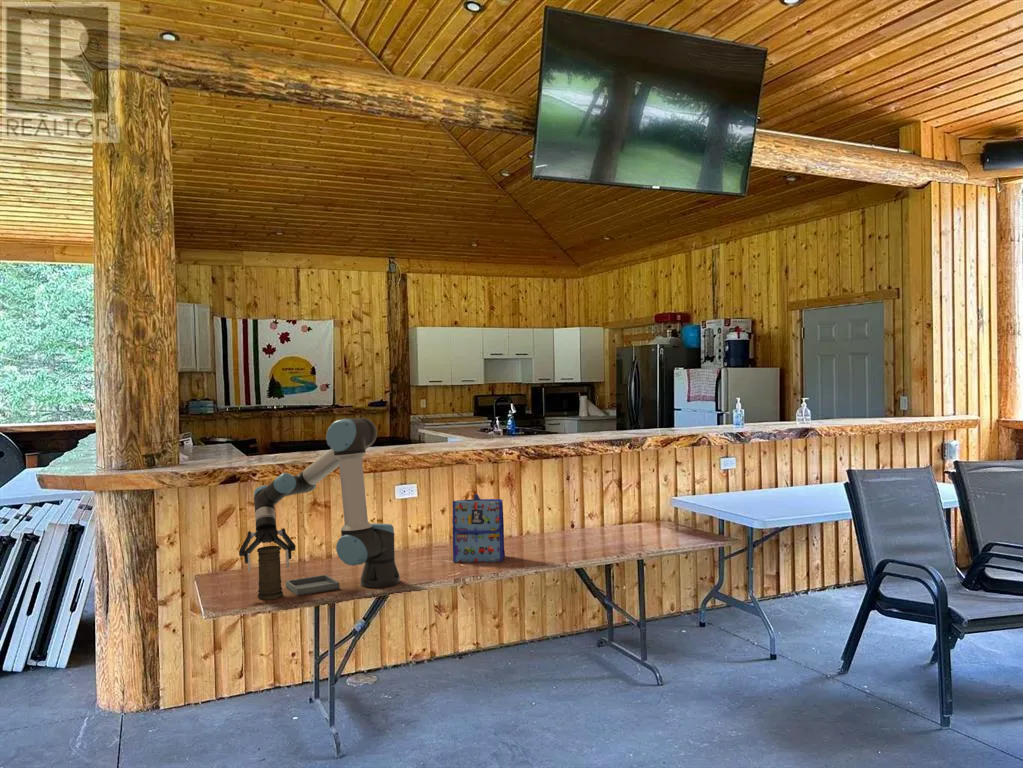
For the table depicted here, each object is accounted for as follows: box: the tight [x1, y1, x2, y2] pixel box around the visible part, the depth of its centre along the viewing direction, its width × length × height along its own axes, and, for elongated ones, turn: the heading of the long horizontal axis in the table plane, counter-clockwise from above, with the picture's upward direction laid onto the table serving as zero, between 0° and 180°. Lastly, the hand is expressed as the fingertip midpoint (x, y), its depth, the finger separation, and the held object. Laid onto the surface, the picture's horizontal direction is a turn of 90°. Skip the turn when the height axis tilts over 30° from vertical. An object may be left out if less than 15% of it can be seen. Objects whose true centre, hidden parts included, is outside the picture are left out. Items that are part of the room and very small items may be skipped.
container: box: [256, 545, 284, 601], centre depth 277 cm, size 9×9×18 cm
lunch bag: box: [451, 493, 506, 563], centre depth 329 cm, size 22×14×29 cm, turn 86°
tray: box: [285, 574, 341, 597], centre depth 287 cm, size 16×16×2 cm
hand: (268, 568), depth 277 cm, fingers open, 13 cm apart
